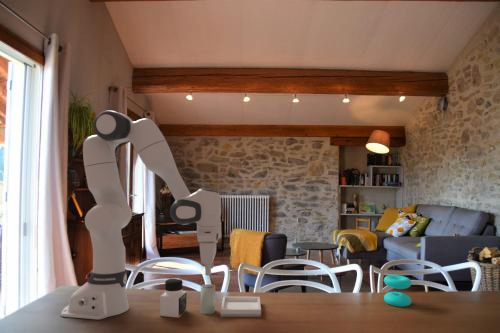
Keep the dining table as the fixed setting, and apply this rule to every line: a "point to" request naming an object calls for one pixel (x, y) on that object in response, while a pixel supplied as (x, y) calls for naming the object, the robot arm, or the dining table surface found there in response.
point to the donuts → (397, 297)
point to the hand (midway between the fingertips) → (209, 271)
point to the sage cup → (207, 299)
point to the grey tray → (241, 307)
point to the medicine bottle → (173, 299)
